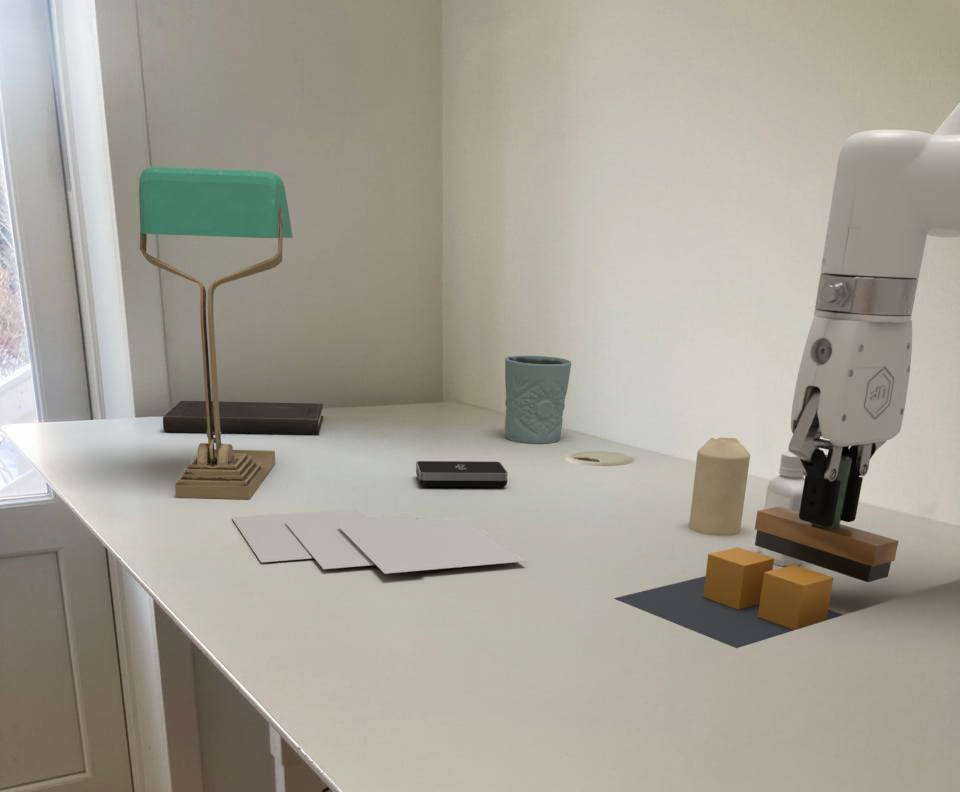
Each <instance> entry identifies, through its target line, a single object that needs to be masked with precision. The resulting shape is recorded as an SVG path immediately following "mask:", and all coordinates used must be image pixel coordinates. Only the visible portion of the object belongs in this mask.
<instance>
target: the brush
mask: <svg viewBox="0 0 960 792" xmlns="http://www.w3.org/2000/svg"><path fill="white" fill-rule="evenodd" d="M825 455H826V457H827V456H828V454H825ZM851 464H852V458H850V457H847V456H842V455H841V459H840V464H839V469H838V474H837V477H836V479H835V480H838V481H841V483H840V489H839V495H838V501H837V506H836V512H835V518H834V523H833V525H832V526H828V527H824V526H821V525H817V524H814V523H810V522H807V521H803V520H801V519H800V518H799V512H797V511H793V510H790V509H786V508H783V507H774V508H769V509H764V508H763V509H759V510H757V511H756V518H755V524H754V530H755V531H756V533H755V534H756V535H755V540H754V541H755V542H754V546H755V547H758V548H759V547H762V548H765V549H768V550H771V551H774V552H777V553H780V554H783V555H786V556H789V557H792V558H795V559H798V560H801V561H802V562H805V563H807V564H810V565H814V566H817V567H819V568H822V569H826V570H828V571H832V572H834V573H838V574H841V575H844V576H847V577H850V578H853V579H857V580H859V581H863V582H866V583H871V582H875V581H878V580H883V579H885V578H889V573H890V569H891V565H892V562H895V560H896V556H897V551H898V546H899V540H897V539H893V538H890V537H887V536H883V535H880V534H876V533H872V532H870V531H866V530H861V529H859V528H856V527H852V526H849V525H845V524H842V523H841V521H842V520H841V516H842V511H843V506H844V501H845V495H846V490H847V485H848V480H849V474H850V469H851Z"/></svg>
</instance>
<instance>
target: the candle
mask: <svg viewBox="0 0 960 792" xmlns="http://www.w3.org/2000/svg"><path fill="white" fill-rule="evenodd" d="M750 461H751V454H750V452H749V451H748V449H747V448H745V446H744V445H743V444H742V443H741V442H740V441H739V440H738V439H737V438H736V437H723V436H722V437H719V438H713V437H710V438H709V439H708V440H707V441H706V442H705V443H704V444H703V445H702V446H701V447H700V448H699V449H698V450H697V453H696V462H695V472H694V480H693V490H692V496H691V506H690V514H689V525H688V526H689V529H690V530H691V531H693V532H696V533H699V534H702V535H707V536H708V535H709V536H719V537H720V536H721V537H723V536H724V537H725V536H726V537H727V536H728V537H729V536H734V535H738V534H739V533H740V532H741V527H742V520H743V513H744V505H745V498H746V490H747V482H748V475H749V467H750Z"/></svg>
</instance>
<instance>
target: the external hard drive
mask: <svg viewBox="0 0 960 792" xmlns="http://www.w3.org/2000/svg"><path fill="white" fill-rule="evenodd" d="M415 474H416V476H417V479H418V482H419V485H420V486H421V487H423V488H495V489H496V488H504V487H506V486H507V484H508V470H507V469H506V468H505V466H504V465H503V463H502V462H500V461H484V460H483V461H482V460H481V461H476V460H475V461H474V460H473V461H471V460H468V461H467V460H464V461H463V460H459V461H458V460H455V461H454V460H418V461H417V460H416V462H415Z"/></svg>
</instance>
